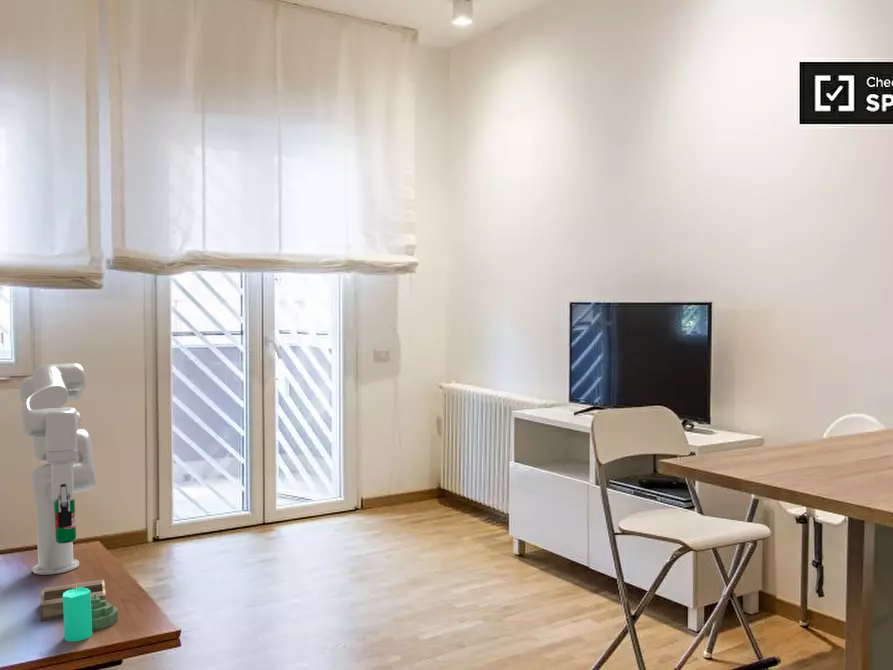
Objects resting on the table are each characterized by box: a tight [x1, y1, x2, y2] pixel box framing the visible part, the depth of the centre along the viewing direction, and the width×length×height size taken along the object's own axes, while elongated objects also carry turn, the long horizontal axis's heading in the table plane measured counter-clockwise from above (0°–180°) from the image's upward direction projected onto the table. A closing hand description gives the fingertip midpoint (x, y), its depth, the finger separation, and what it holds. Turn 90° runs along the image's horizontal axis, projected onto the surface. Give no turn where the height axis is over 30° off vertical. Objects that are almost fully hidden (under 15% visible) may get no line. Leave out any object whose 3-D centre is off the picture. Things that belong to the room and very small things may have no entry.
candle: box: [63, 586, 93, 642], centre depth 190 cm, size 6×6×12 cm
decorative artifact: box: [91, 595, 119, 631], centre depth 198 cm, size 10×7×10 cm
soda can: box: [54, 497, 77, 543], centre depth 216 cm, size 5×5×12 cm
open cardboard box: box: [39, 579, 107, 622], centre depth 209 cm, size 14×15×4 cm
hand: (65, 524), depth 216 cm, fingers closed on soda can, 5 cm apart
